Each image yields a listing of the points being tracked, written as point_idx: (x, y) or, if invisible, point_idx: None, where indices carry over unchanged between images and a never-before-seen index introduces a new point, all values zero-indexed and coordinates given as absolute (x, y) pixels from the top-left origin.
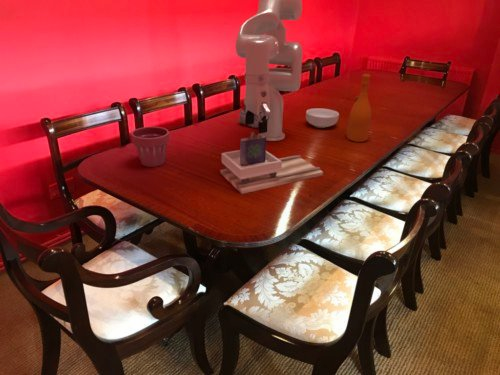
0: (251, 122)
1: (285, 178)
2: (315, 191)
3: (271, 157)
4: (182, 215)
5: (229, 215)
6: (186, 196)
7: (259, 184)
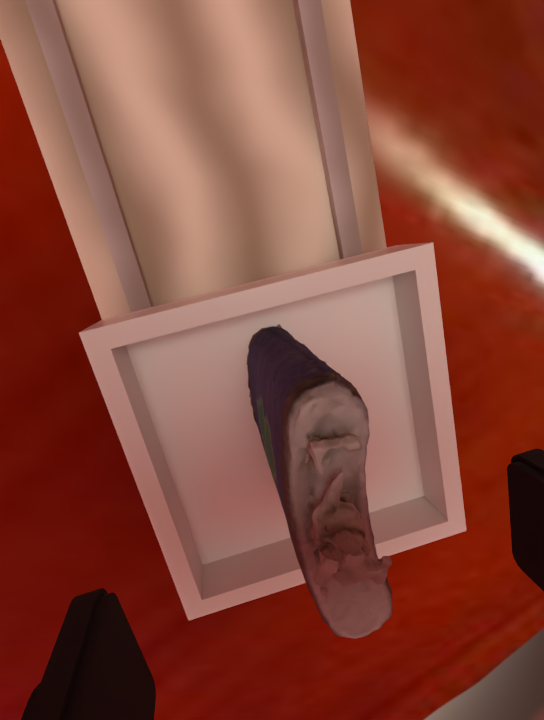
0: (124, 647)
1: (362, 213)
2: (496, 84)
3: (319, 292)
4: (485, 646)
5: None
6: (366, 645)
7: None
